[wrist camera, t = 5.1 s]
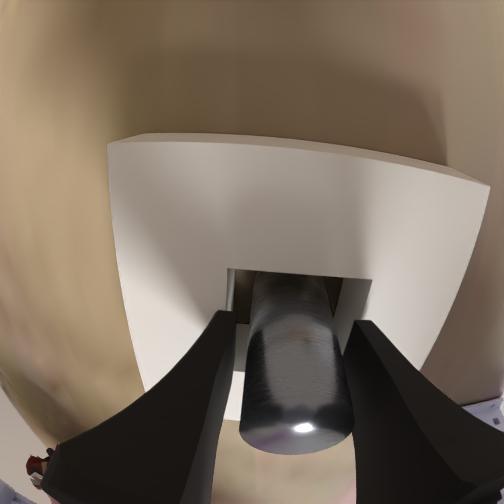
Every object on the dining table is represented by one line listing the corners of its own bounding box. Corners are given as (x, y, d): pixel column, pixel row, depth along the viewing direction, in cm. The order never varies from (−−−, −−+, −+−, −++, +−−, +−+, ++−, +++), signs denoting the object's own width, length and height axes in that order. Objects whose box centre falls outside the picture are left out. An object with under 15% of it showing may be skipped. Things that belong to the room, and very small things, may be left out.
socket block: (448, 166, 10) (490, 186, 8) (376, 379, 16) (388, 420, 13) (144, 133, 11) (107, 143, 8) (164, 365, 16) (149, 407, 13)
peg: (331, 261, 12) (373, 401, 6) (313, 318, 14) (331, 455, 8) (259, 249, 12) (248, 393, 6) (248, 308, 14) (233, 449, 8)
